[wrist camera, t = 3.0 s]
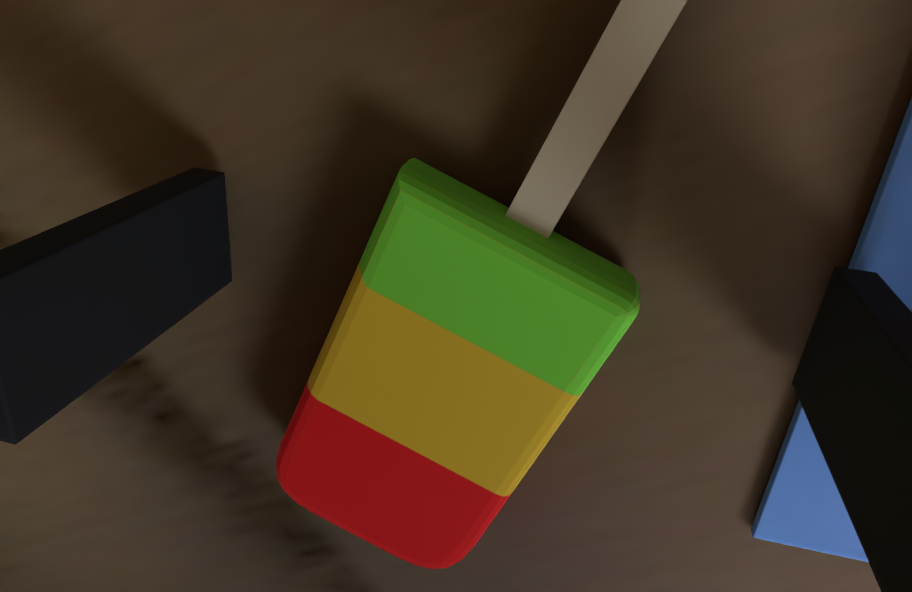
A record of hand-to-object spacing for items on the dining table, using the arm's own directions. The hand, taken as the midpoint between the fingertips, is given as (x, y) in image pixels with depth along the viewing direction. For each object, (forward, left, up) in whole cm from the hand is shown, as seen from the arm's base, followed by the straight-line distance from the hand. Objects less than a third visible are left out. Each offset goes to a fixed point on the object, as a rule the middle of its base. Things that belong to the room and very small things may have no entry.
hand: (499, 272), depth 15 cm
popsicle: (0, 0, -1) cm, 1 cm away
